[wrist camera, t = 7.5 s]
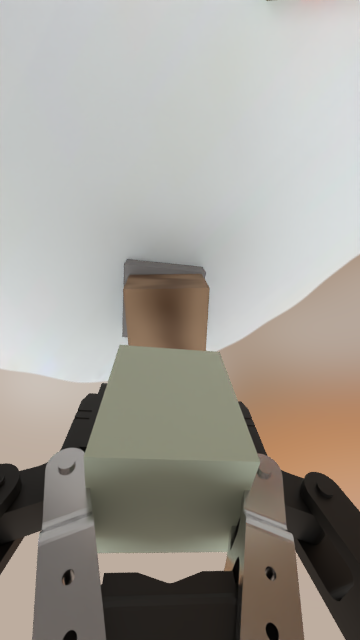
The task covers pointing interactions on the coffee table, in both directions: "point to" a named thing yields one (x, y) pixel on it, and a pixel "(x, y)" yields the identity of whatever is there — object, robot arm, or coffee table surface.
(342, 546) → the robot arm
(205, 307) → the walnut block
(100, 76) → the coffee table surface
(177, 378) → the sage block
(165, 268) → the charcoal slab
